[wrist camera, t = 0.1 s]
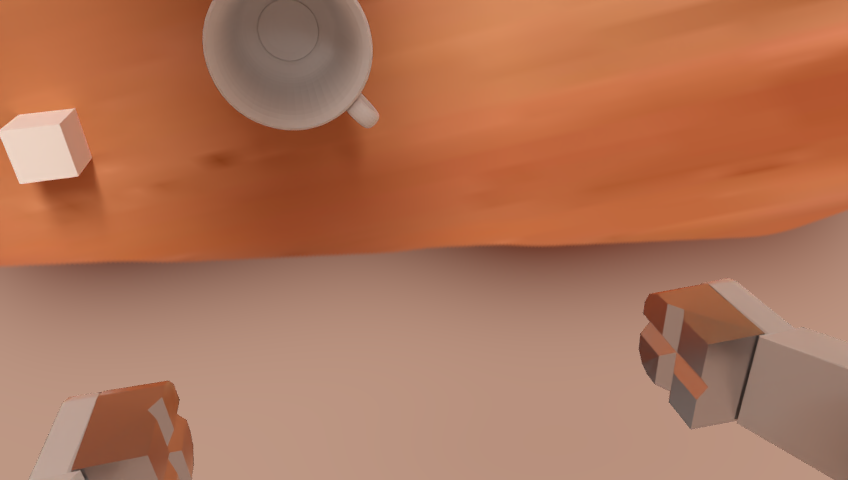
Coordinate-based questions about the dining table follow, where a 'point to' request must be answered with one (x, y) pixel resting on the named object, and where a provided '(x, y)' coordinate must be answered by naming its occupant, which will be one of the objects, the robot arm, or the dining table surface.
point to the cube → (46, 145)
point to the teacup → (291, 60)
